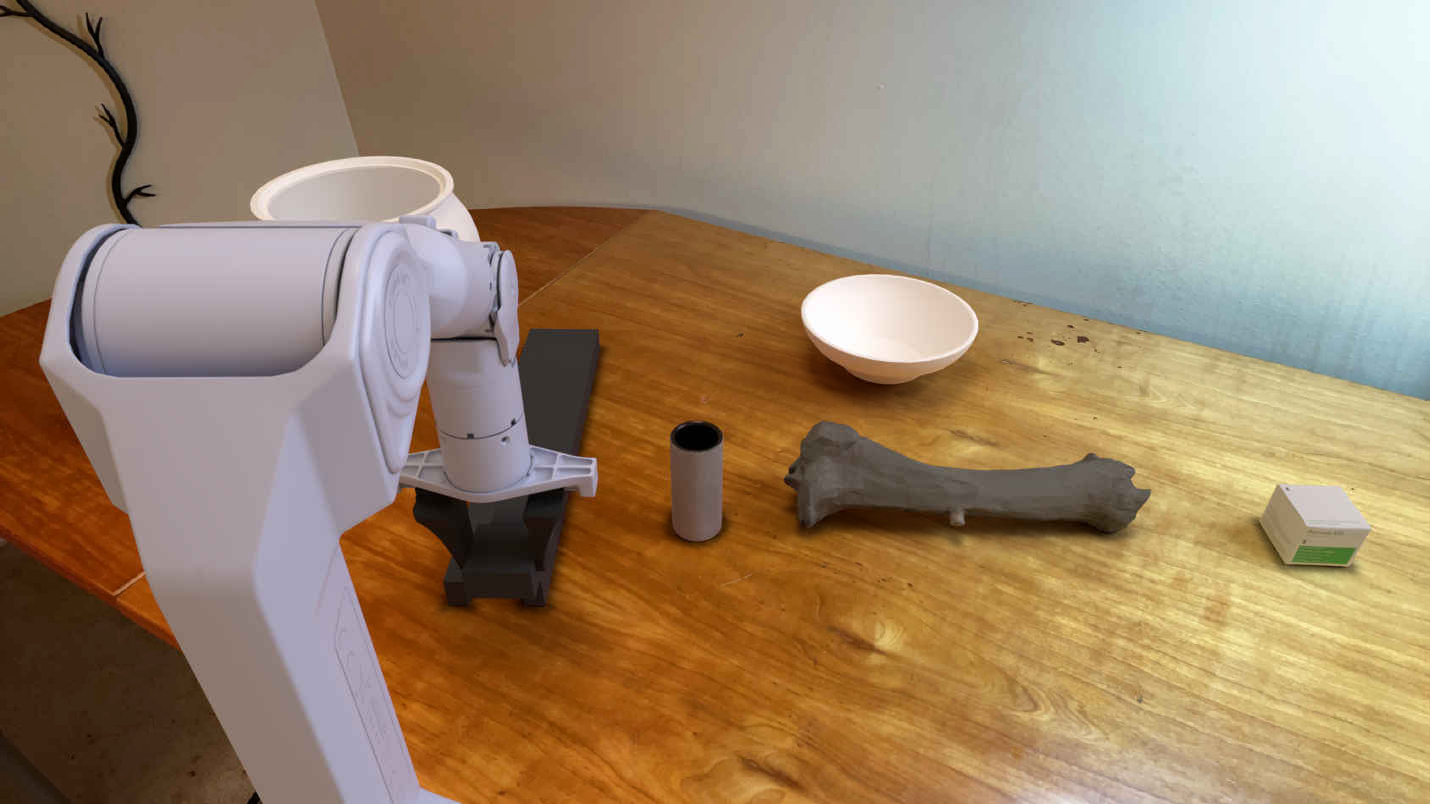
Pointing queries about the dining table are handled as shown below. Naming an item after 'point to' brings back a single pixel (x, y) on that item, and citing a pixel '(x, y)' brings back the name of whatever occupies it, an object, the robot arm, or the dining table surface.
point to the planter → (696, 479)
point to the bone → (955, 485)
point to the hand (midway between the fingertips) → (505, 561)
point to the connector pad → (502, 556)
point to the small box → (1314, 525)
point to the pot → (366, 193)
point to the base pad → (544, 424)
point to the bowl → (888, 326)
